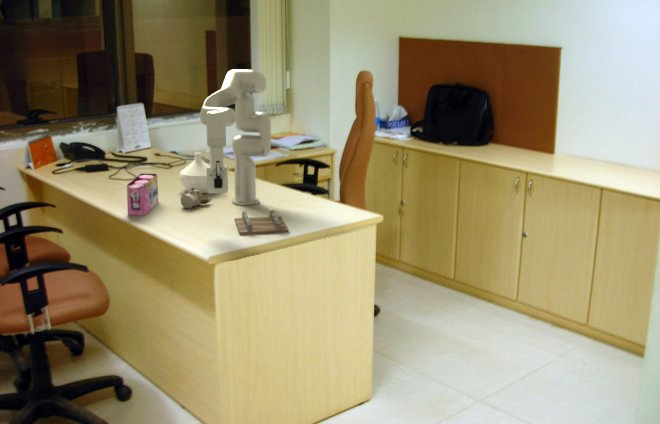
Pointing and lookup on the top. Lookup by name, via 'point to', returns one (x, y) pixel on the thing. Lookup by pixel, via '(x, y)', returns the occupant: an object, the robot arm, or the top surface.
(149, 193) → the gum box
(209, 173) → the small box
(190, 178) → the vase
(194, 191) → the ceramic sculpture
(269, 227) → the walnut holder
